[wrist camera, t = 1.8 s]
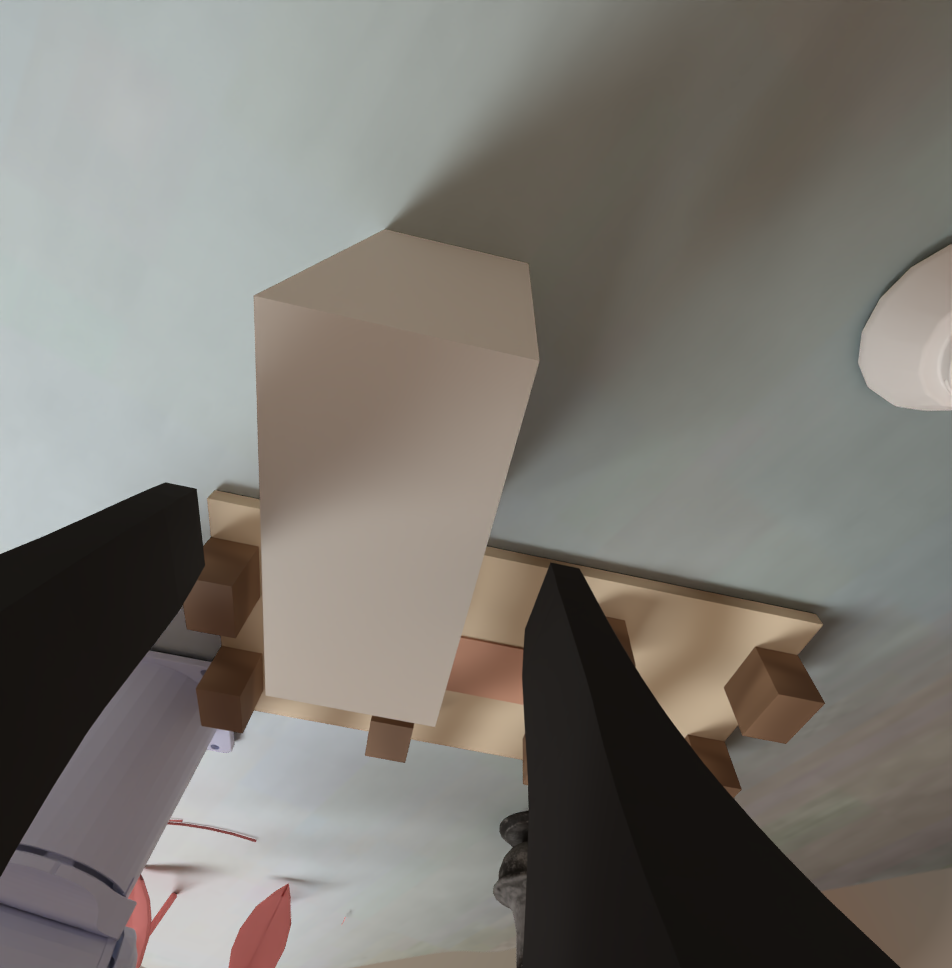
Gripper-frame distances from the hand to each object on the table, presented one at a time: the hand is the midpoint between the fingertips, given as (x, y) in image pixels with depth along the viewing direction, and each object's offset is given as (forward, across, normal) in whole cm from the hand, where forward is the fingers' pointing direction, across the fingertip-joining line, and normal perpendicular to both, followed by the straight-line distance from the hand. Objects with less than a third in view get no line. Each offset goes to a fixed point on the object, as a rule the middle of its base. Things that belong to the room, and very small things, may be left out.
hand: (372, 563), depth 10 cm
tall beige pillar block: (+9, 0, 0) cm, 9 cm away
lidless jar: (+9, -15, -6) cm, 19 cm away
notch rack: (+9, -5, +13) cm, 17 cm away
